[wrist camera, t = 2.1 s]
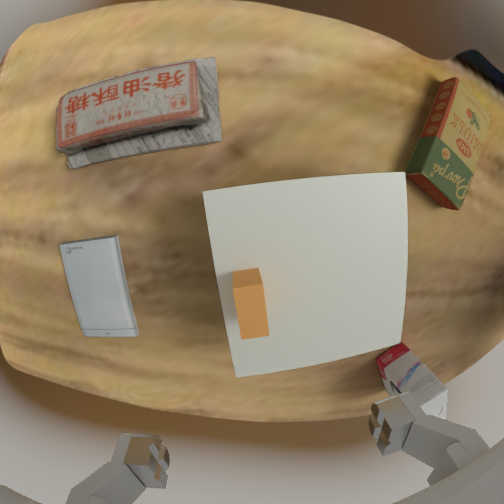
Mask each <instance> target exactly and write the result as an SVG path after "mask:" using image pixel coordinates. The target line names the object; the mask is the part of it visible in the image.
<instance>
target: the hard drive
mask: <svg viewBox="0 0 504 504" xmlns="http://www.w3.org/2000/svg"><path fill="white" fill-rule="evenodd" d="M59 246H60V251H61V256H62V260H63V265H64V269H65V273H66V277H67V281H68V285H69V289H70V293H71V296H72V300H73V303H74V307H75V310H76V313H77V316H78V319H79V323H80V326H81V328H82V331H83V334H84V336H87V337H135V336H138V335H139V330H138V326H137V322H136V318H135V314H134V310H133V306H132V302H131V298H130V293H129V289H128V285H127V280H126V275H125V270H124V265H123V260H122V255H121V249H120V243H119V237H118V235H115V236H107V237H99V238H92V239H85V240H78V241H71V242H63V243H61V244H60V245H59Z"/></svg>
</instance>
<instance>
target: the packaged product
mask: <svg viewBox="0 0 504 504" xmlns="http://www.w3.org/2000/svg"><path fill="white" fill-rule="evenodd" d="M56 112H57V127H56V151H59V152H60V153H62V152H63V153H64V154H67V164H68V165H69V167H70V168H71V169H74V168H80V167H83V166H86V165H89V164H92V163H97V162H102V161H108V160H113V159H119V158H123V157H129V156H134V155H140V154H147V153H153V152H159V151H164V150H171V149H178V148H184V147H191V146H199V145H205V144H210V143H214V142H219V141H222V127H221V119H220V112H219V88H218V75H217V68H216V62H215V57H211V58H203V59H192V60H186V61H182V62H176V63H170V64H164V65H159V66H154V67H149V68H145V69H141V70H136V71H132V72H128V73H126V74H123V75H121V76H114V77H111V78H108V79H104V80H101V81H98V82H95V83H92V84H89V85H86V86H83V87H80V88H77V89H74V90H72V91H69V92H68V93H67V94H65V95H63V96H62V97H61V98H60V101H59V105H58V106H57V108H56Z"/></svg>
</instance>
